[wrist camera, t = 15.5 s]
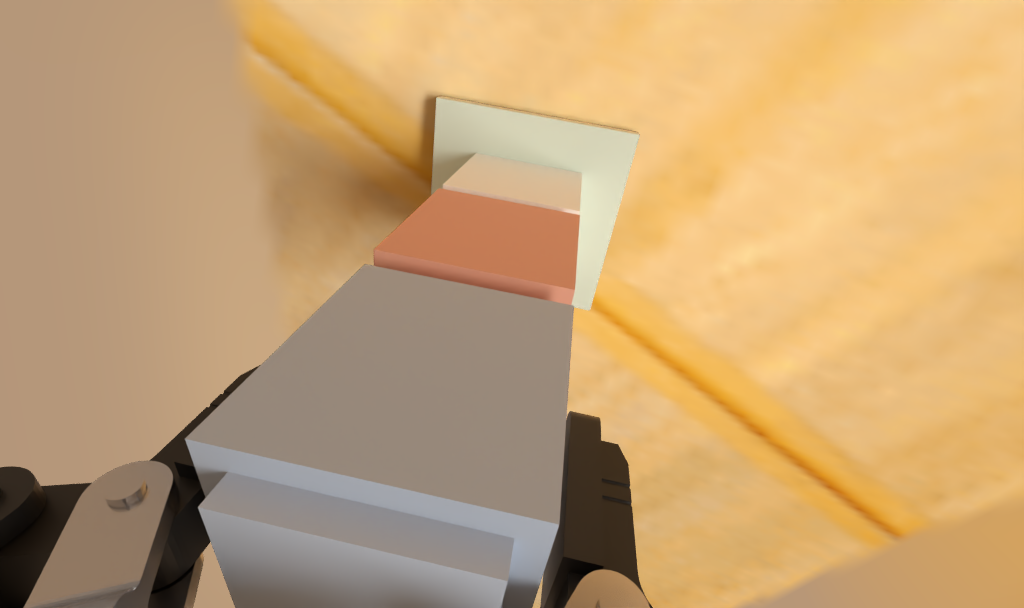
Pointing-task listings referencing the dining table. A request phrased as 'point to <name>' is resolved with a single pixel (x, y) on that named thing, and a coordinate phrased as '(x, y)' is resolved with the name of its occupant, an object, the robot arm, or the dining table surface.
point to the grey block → (394, 451)
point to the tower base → (545, 149)
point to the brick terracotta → (487, 245)
